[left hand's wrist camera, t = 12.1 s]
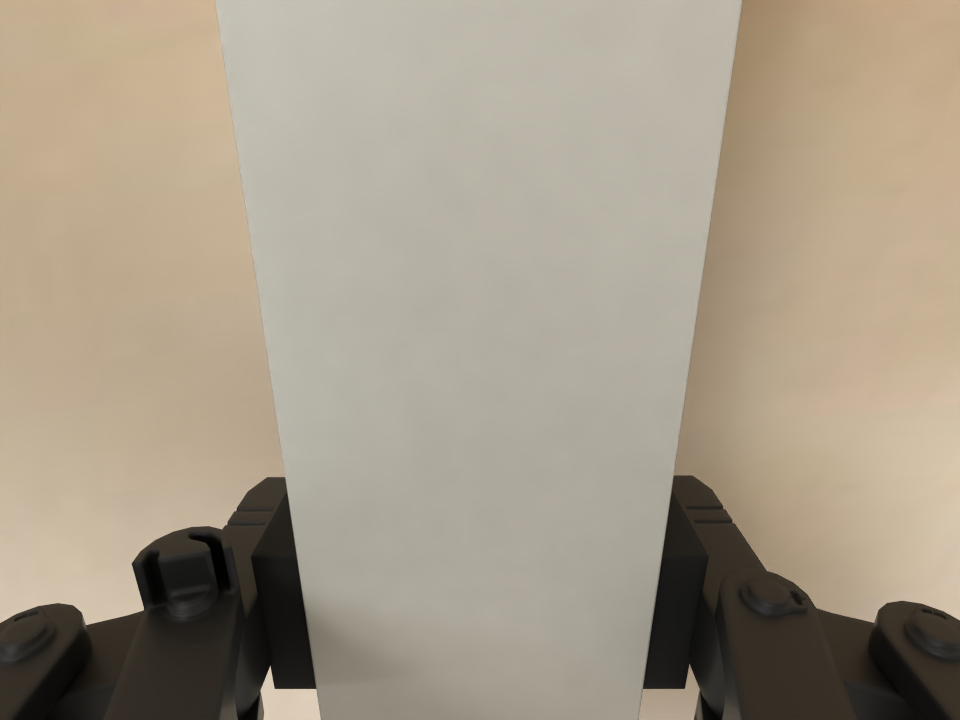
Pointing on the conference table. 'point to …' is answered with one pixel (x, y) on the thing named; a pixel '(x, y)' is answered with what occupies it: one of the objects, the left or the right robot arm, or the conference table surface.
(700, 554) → the left robot arm
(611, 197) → the bar
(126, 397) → the conference table surface
